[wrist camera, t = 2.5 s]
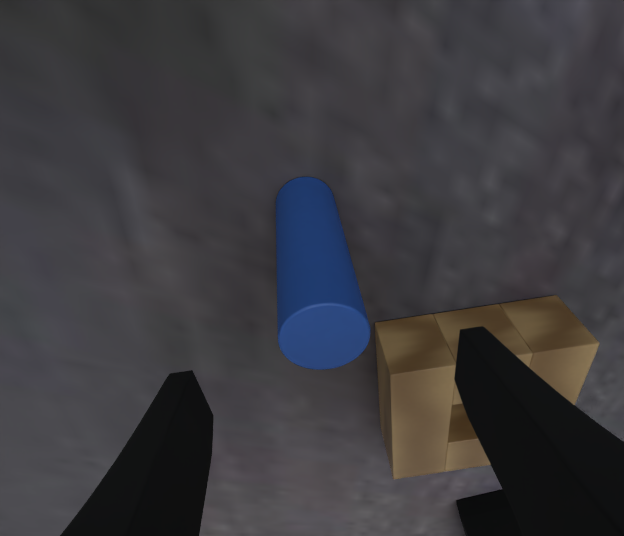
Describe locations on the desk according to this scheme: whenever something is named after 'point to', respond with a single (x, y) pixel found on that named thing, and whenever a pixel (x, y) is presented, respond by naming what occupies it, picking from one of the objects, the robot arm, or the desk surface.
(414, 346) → the holder
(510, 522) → the battery charger
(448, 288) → the desk surface
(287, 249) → the handle
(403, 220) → the desk surface
